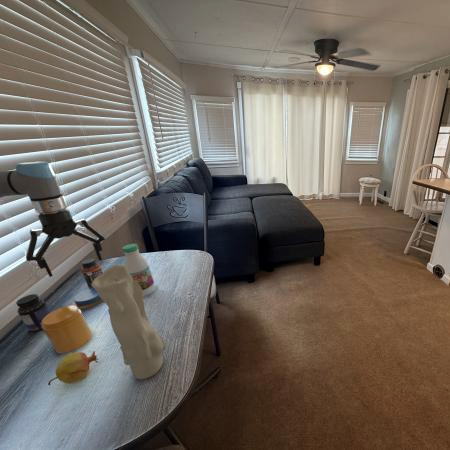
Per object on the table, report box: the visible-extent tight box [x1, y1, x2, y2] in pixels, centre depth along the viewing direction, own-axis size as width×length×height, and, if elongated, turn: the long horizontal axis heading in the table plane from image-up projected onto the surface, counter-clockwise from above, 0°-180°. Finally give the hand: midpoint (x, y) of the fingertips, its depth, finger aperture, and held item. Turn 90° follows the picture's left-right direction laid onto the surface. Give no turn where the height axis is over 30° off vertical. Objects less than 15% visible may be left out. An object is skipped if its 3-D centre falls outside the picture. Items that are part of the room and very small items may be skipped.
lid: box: [73, 287, 101, 306], centre depth 91 cm, size 9×9×2 cm
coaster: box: [70, 299, 104, 311], centre depth 91 cm, size 12×12×1 cm
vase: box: [92, 264, 167, 380], centre depth 58 cm, size 9×8×30 cm
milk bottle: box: [122, 243, 156, 297], centre depth 91 cm, size 8×8×20 cm
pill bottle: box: [15, 293, 52, 333], centre depth 77 cm, size 6×6×11 cm
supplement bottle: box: [80, 258, 104, 288], centre depth 98 cm, size 6×6×11 cm
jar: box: [42, 305, 93, 354], centre depth 71 cm, size 8×8×10 cm
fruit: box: [47, 351, 99, 386], centre depth 61 cm, size 7×7×10 cm
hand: (76, 266), depth 86 cm, fingers open, 13 cm apart
